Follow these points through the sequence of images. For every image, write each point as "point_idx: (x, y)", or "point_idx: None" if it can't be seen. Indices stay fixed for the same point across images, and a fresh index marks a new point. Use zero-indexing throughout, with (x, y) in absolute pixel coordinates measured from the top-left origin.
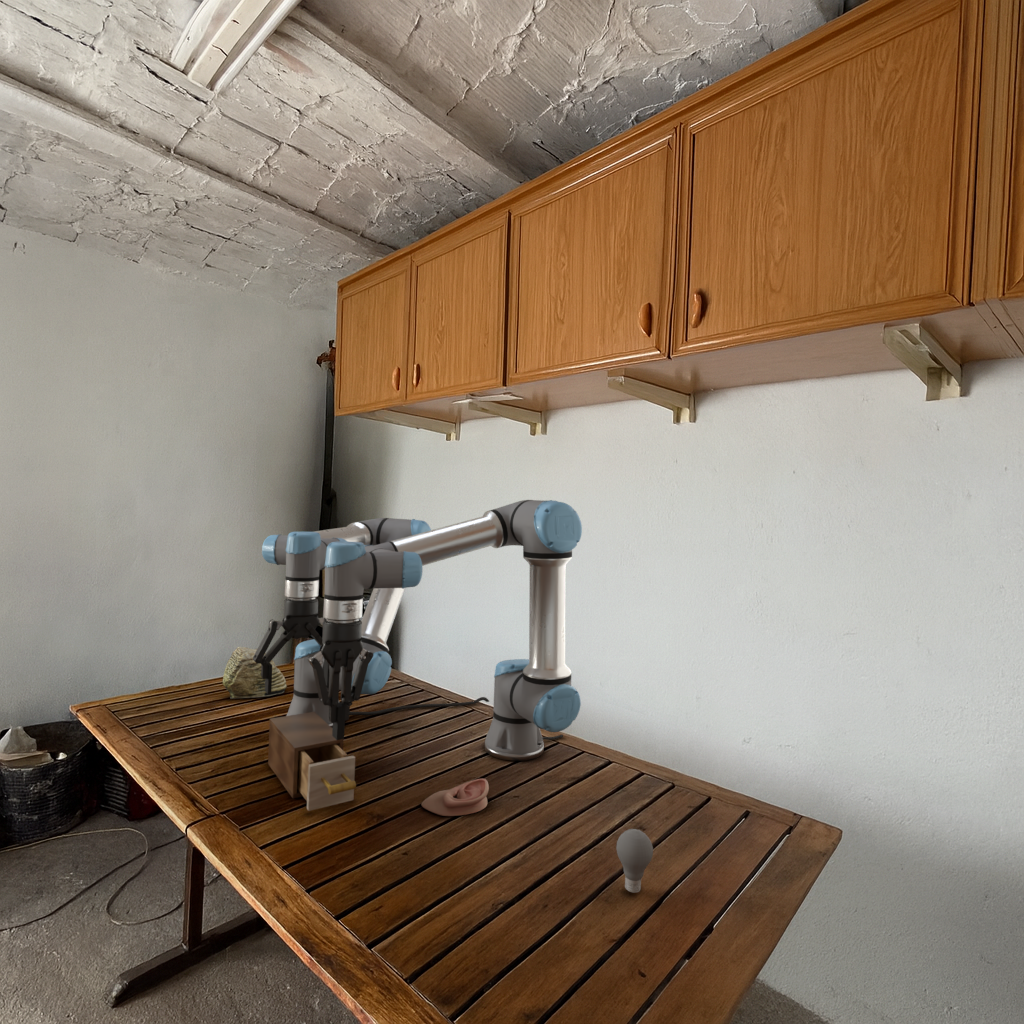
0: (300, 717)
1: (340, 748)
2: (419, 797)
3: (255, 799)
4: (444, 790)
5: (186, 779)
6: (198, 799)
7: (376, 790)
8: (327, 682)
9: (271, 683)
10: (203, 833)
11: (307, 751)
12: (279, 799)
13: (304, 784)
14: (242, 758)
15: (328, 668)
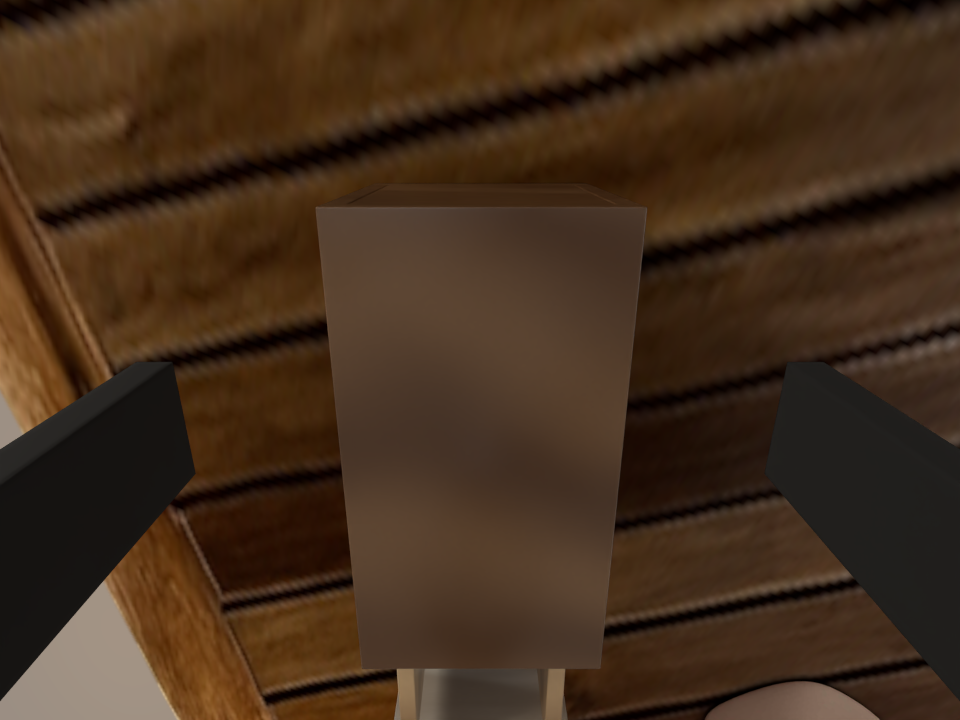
0: (515, 284)
1: (561, 682)
2: (736, 668)
3: (281, 468)
4: (809, 707)
5: (24, 172)
6: (93, 380)
7: (653, 582)
8: (785, 495)
9: (135, 540)
10: (125, 586)
11: None
12: None
13: None
14: (270, 40)
15: (898, 618)
